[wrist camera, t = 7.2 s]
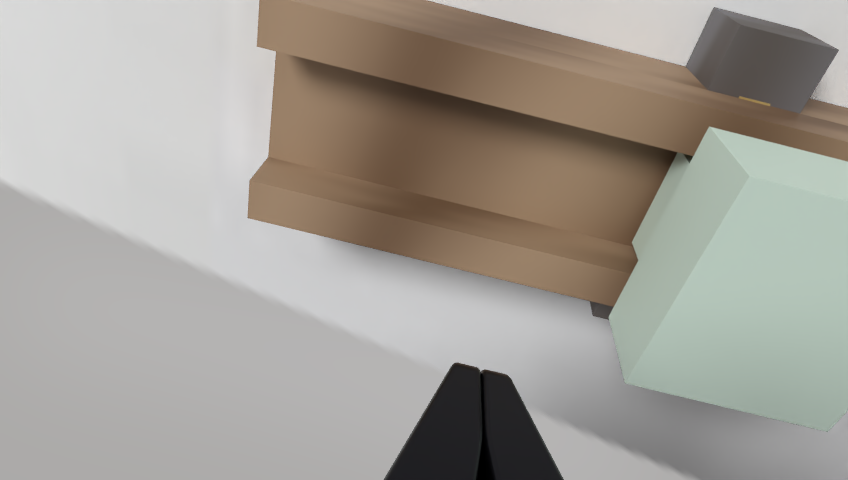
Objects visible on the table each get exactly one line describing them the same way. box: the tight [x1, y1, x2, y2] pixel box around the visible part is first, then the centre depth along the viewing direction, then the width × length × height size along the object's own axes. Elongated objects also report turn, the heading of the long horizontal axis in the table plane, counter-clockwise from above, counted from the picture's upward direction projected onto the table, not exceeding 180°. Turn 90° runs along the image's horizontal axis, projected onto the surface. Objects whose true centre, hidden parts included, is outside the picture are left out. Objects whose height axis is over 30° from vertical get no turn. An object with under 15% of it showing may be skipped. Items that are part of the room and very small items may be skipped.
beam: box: [248, 0, 848, 320], centre depth 15 cm, size 24×9×6 cm, turn 78°
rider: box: [609, 127, 848, 432], centre depth 14 cm, size 5×6×4 cm
